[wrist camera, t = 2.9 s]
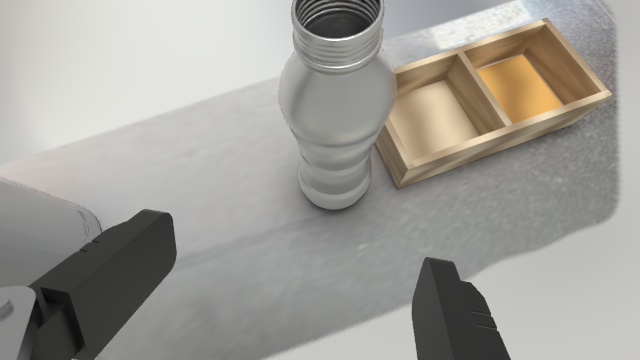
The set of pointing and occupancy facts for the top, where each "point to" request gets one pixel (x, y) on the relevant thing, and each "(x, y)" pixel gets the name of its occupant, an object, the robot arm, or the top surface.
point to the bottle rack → (484, 101)
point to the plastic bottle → (337, 95)
